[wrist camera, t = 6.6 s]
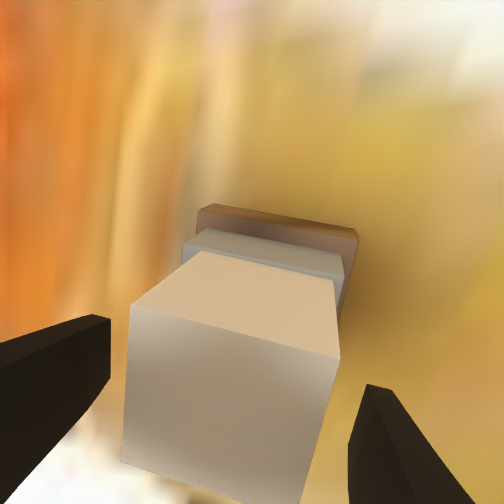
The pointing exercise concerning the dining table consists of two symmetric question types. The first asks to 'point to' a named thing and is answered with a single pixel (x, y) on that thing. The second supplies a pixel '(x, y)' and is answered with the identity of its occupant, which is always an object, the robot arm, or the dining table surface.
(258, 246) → the grey slab
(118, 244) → the dining table surface
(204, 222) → the walnut slab
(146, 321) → the cream cube
